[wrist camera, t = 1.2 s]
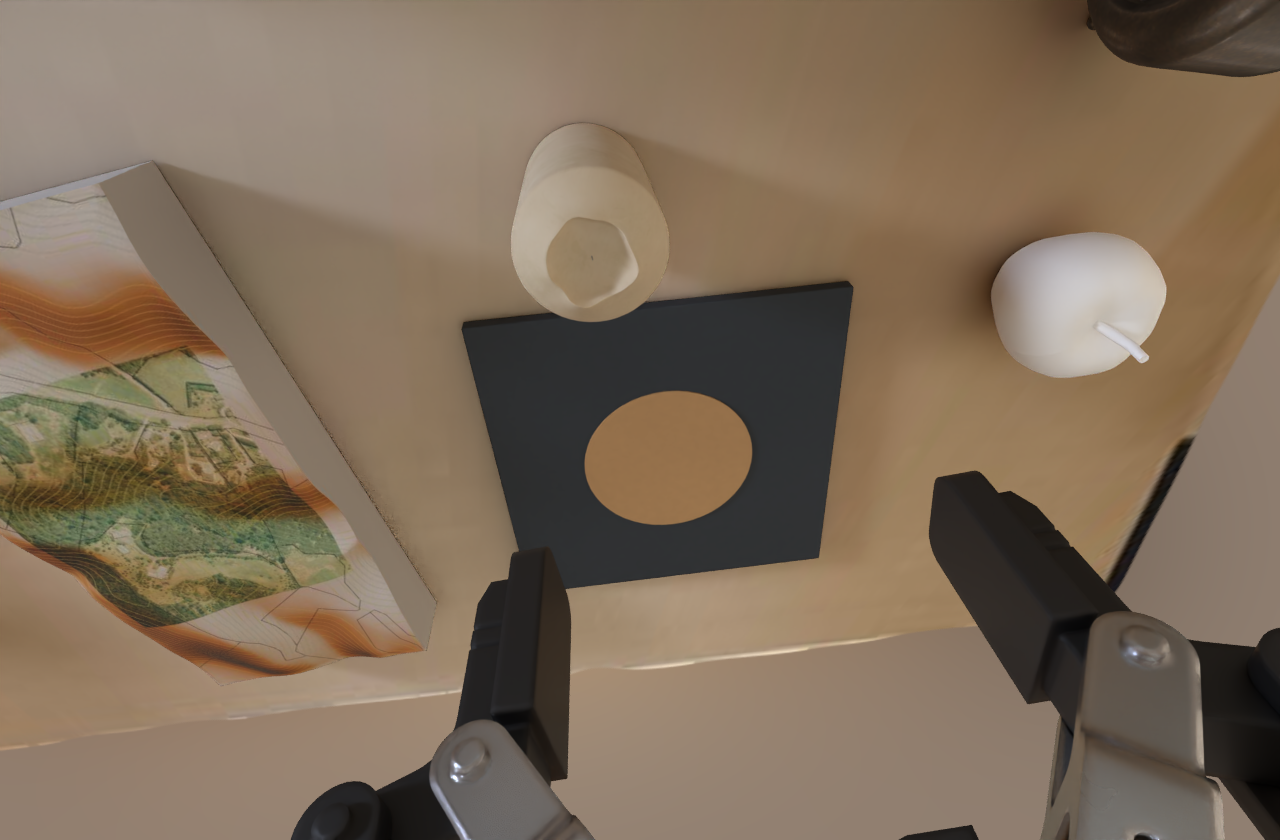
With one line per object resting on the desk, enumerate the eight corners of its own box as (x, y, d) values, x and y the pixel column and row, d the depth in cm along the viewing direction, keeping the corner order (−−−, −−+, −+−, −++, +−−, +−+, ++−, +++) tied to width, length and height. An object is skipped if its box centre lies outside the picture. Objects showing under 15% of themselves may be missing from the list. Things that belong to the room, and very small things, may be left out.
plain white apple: (983, 359, 36) (1076, 441, 30) (947, 262, 33) (1042, 331, 26) (1106, 293, 35) (1233, 364, 28) (1082, 183, 31) (1221, 235, 24)
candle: (662, 145, 28) (700, 209, 20) (624, 259, 31) (644, 356, 23) (541, 102, 27) (529, 152, 19) (512, 226, 30) (491, 317, 21)
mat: (530, 584, 43) (529, 594, 43) (463, 321, 32) (460, 329, 31) (815, 549, 44) (819, 559, 43) (848, 280, 33) (854, 287, 32)
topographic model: (-160, 244, 27) (-289, 290, 23) (152, 160, 27) (76, 192, 22) (239, 647, 44) (206, 715, 40) (436, 603, 44) (422, 667, 39)
